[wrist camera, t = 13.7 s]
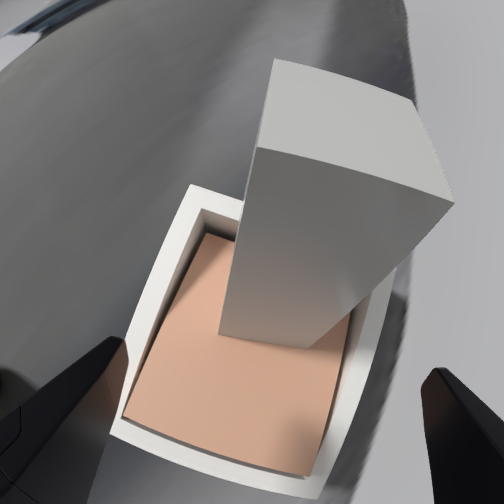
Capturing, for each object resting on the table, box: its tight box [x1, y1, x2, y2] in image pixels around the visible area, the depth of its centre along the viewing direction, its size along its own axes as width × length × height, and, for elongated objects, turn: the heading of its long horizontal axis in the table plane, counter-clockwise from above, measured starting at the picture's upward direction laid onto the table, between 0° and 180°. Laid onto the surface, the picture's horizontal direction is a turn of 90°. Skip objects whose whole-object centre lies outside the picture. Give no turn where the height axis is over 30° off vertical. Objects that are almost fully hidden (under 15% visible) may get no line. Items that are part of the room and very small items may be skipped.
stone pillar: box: [217, 58, 455, 349], centre depth 13 cm, size 5×5×12 cm
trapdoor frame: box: [110, 184, 396, 500], centre depth 19 cm, size 15×13×5 cm
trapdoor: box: [123, 233, 351, 477], centre depth 18 cm, size 12×10×4 cm
